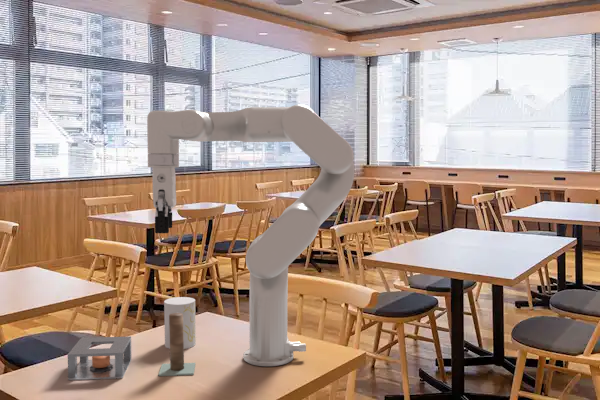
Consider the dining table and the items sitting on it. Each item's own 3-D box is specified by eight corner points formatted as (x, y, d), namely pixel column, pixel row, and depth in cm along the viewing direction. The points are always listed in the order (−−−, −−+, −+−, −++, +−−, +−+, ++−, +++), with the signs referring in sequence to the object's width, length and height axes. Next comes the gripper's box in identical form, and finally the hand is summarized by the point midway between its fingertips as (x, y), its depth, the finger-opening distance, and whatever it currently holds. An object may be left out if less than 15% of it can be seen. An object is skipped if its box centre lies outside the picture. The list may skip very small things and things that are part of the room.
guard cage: (131, 360, 148) (131, 336, 148) (122, 378, 136) (122, 352, 136) (81, 361, 147) (81, 337, 146) (68, 380, 135) (67, 354, 135)
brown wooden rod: (184, 365, 143) (183, 312, 142) (183, 370, 140) (182, 316, 139) (171, 366, 143) (169, 313, 142) (169, 371, 140) (168, 316, 139)
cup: (188, 350, 156) (188, 305, 155) (159, 348, 157) (159, 303, 156) (200, 340, 163) (199, 297, 162) (172, 338, 165) (171, 296, 164)
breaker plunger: (111, 361, 144) (111, 353, 144) (108, 367, 140) (107, 358, 140) (94, 362, 143) (94, 353, 143) (90, 368, 139) (90, 359, 139)
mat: (195, 364, 146) (195, 362, 146) (193, 374, 139) (193, 373, 139) (162, 365, 145) (162, 363, 145) (158, 376, 138) (158, 374, 138)
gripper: (176, 162, 138) (176, 235, 140) (181, 160, 156) (181, 226, 157) (143, 162, 138) (143, 235, 139) (152, 160, 155) (152, 226, 156)
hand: (164, 230), depth 148 cm, fingers open, 9 cm apart
